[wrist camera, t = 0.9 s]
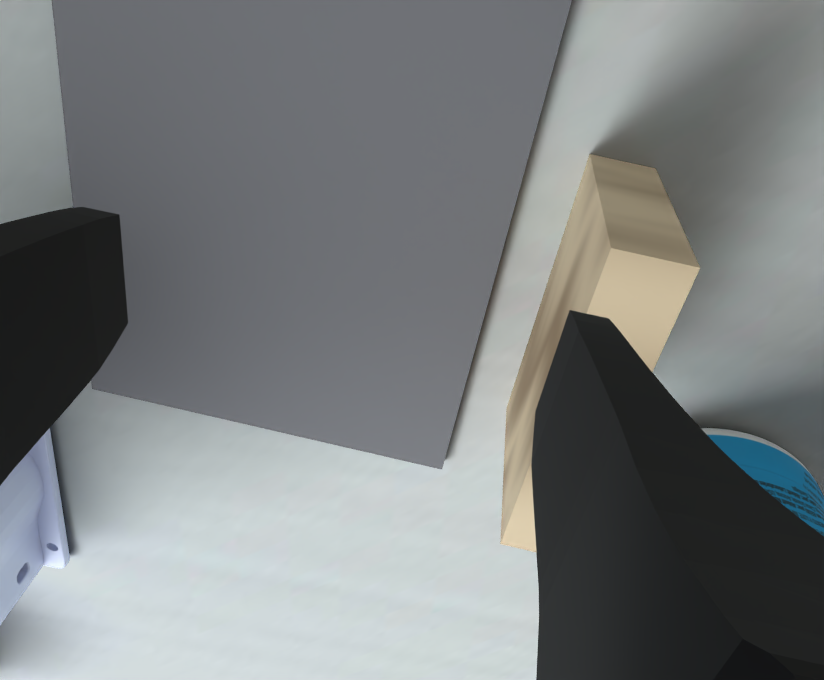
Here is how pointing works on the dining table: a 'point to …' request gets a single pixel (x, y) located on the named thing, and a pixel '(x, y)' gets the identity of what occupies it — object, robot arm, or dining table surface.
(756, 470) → the beverage bottle
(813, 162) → the dining table surface
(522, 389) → the oak slab
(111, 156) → the rubber mat
